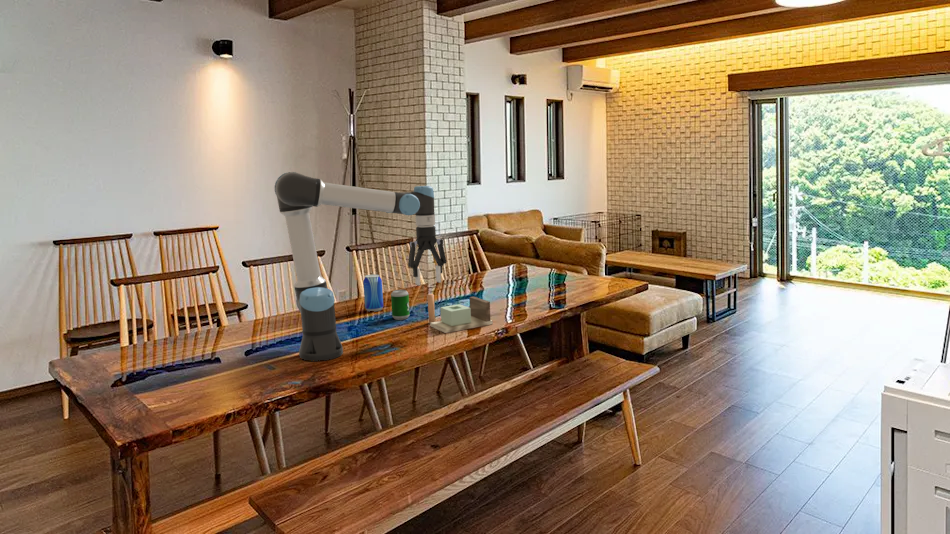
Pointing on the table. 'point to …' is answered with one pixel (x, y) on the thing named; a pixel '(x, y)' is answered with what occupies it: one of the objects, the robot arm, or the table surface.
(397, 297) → the soda can
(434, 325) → the beige l-shaped bracket
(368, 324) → the table surface
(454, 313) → the block
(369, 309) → the beer can
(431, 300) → the dowel
